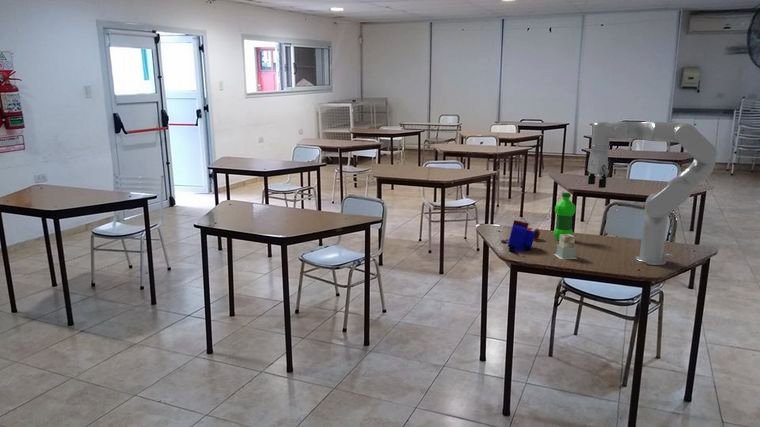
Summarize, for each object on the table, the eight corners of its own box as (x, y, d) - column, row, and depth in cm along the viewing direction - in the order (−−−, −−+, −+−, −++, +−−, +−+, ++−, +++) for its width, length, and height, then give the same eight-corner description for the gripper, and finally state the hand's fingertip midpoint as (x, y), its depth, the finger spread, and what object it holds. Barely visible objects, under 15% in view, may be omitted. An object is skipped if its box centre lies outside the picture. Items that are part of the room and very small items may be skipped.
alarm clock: (508, 246, 284) (509, 217, 281) (533, 248, 281) (535, 218, 278) (507, 252, 272) (508, 222, 269) (533, 254, 269) (535, 224, 266)
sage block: (568, 254, 266) (569, 244, 265) (574, 258, 260) (575, 247, 259) (556, 254, 265) (557, 244, 264) (562, 258, 260) (562, 247, 258)
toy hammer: (511, 246, 284) (512, 234, 283) (493, 241, 294) (494, 229, 292) (539, 239, 298) (540, 227, 297) (521, 235, 307) (522, 223, 306)
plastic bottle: (575, 243, 290) (579, 195, 285) (554, 242, 291) (558, 194, 286) (570, 238, 300) (574, 191, 295) (550, 237, 301) (553, 191, 296)
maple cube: (569, 244, 264) (569, 234, 263) (574, 247, 260) (574, 236, 258) (558, 244, 264) (559, 234, 263) (563, 247, 259) (564, 237, 258)
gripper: (583, 147, 268) (580, 183, 271) (601, 151, 251) (598, 189, 255) (597, 147, 269) (594, 182, 272) (617, 151, 252) (614, 188, 256)
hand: (596, 185), depth 264 cm, fingers open, 9 cm apart
